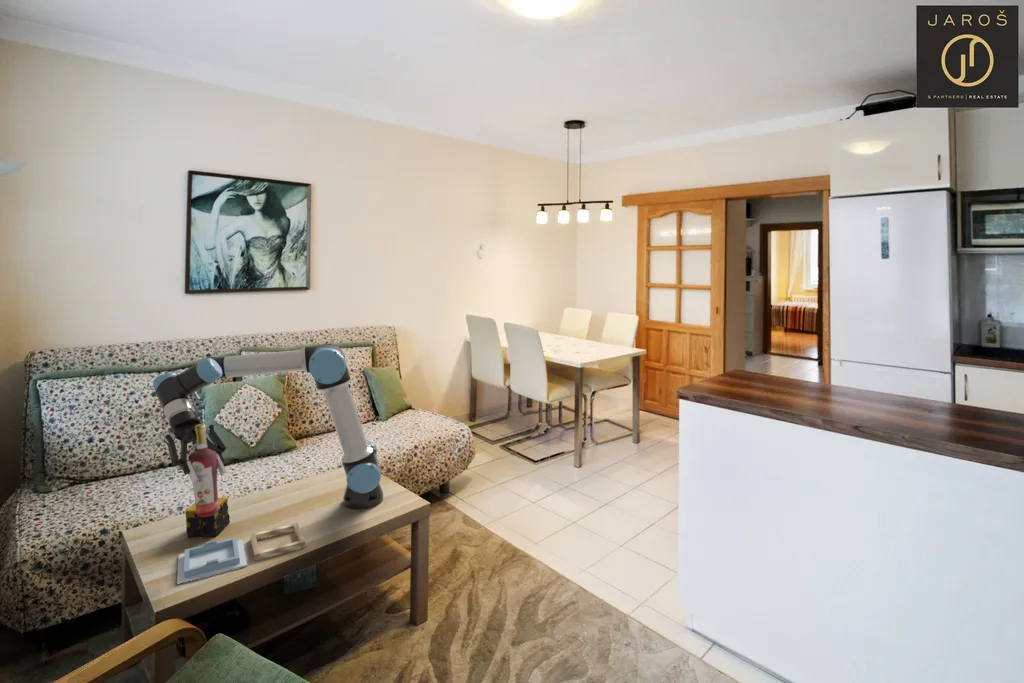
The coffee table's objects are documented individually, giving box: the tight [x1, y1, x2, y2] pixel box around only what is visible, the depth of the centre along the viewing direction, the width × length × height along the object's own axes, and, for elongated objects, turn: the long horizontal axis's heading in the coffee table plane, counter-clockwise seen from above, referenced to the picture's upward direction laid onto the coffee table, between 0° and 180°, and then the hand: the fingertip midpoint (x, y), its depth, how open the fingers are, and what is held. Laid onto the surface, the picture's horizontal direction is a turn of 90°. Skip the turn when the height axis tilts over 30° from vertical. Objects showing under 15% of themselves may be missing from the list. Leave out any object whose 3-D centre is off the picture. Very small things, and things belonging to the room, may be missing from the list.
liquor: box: [187, 423, 220, 517], centre depth 157 cm, size 7×7×28 cm
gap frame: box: [249, 522, 307, 561], centre depth 171 cm, size 15×15×2 cm
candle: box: [184, 497, 231, 539], centre depth 180 cm, size 10×10×10 cm
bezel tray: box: [176, 537, 248, 585], centre depth 161 cm, size 18×18×3 cm
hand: (209, 477), depth 155 cm, fingers closed on liquor, 7 cm apart
